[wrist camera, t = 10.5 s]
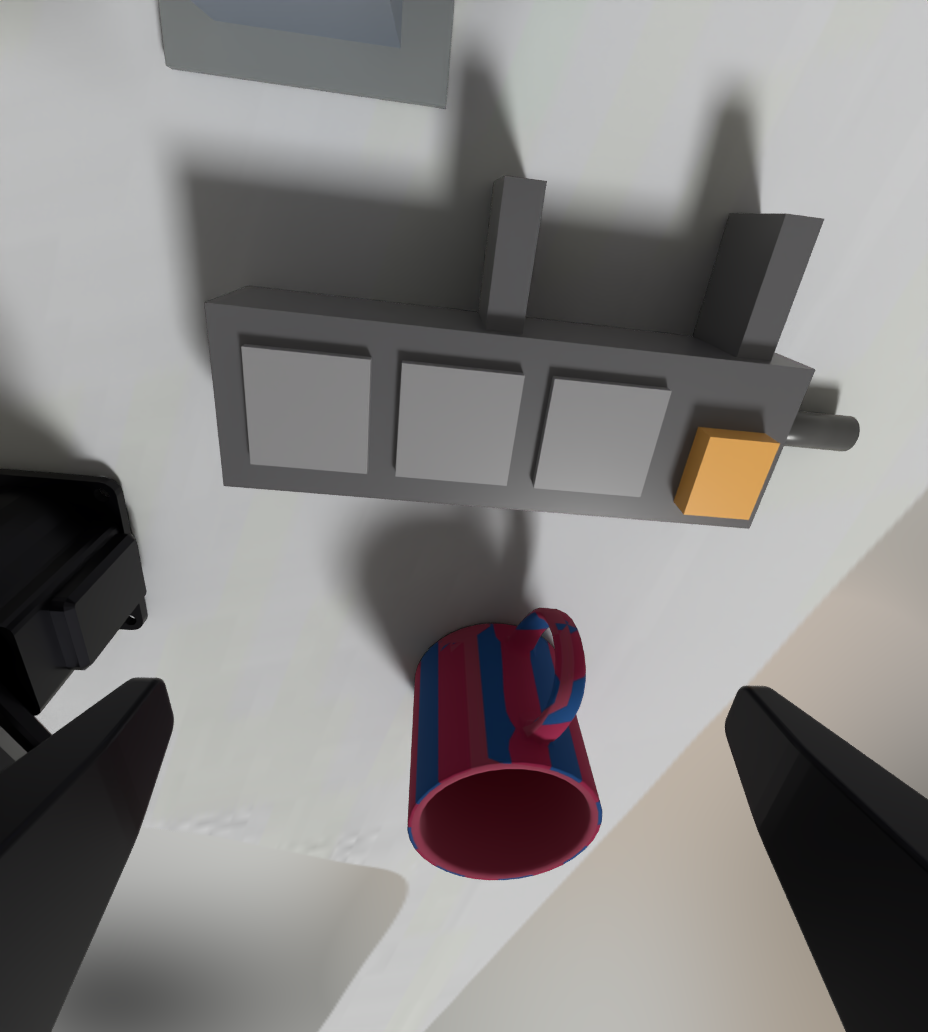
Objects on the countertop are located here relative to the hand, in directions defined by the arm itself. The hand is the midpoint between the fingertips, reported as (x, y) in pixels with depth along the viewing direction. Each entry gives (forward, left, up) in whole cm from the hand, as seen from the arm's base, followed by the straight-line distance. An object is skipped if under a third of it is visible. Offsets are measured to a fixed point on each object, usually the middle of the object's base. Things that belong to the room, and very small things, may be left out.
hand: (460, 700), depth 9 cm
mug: (+4, -10, -12) cm, 16 cm away
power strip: (+4, +3, -12) cm, 13 cm away
